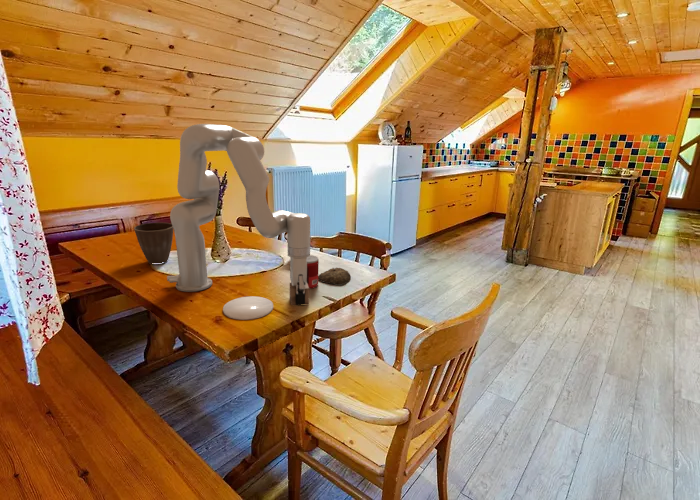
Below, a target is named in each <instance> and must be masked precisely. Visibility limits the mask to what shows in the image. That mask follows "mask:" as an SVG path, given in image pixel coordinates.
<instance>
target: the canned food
mask: <svg viewBox="0 0 700 500" xmlns="http://www.w3.org/2000/svg"><path fill="white" fill-rule="evenodd" d="M319 263H320V262H319V257H318V256H315V255H311V254H310V256H308V257H307V284H308V287H309V290H312V289H315V288H317V287H318V285H319V280H318V276H319V267H320V266H319V265H320V264H319Z"/></svg>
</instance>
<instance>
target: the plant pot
mask: <svg viewBox="0 0 700 500" xmlns="http://www.w3.org/2000/svg"><path fill="white" fill-rule="evenodd" d="M133 230H134V232H135V235H136V238H137V242H138V245H139V247H140V250H141V251H142V253H143V256H144V257H145V259H146V261H147V262H148V264H150V265H153V264H152V263H162V262H166V261H167V260H168V261H169V258H170V254H171V250H172V247H173V246H172V244H173V238H174V229H173V226H172V223H171V222H170V223H169V222H147V223H143V224H142V223H141V224H138V225H136V226H134V228H133ZM168 261H167V262H168ZM167 262H166V263H167Z"/></svg>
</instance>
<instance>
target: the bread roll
mask: <svg viewBox="0 0 700 500" xmlns="http://www.w3.org/2000/svg"><path fill="white" fill-rule="evenodd" d="M351 277H352V276H351V273H350V272H349V271H348V270H346V269H345V268H341V267H335V268H334V267H332V268H330V269H328V270H326V271H323V272H321V273H320V274H318V281H320V282H323V283H327V284H330V285H335V286H342V285H346V283H348V282H349V281H350V279H351Z"/></svg>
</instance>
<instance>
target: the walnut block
mask: <svg viewBox="0 0 700 500" xmlns="http://www.w3.org/2000/svg"><path fill="white" fill-rule="evenodd" d="M297 285H299V283H297ZM298 288H299V287H298ZM304 288H305V304H309V305H310V289H309V287H308V284H306V285H304ZM295 293H296V286H292V284H291V282H289V301H290V305H294V306H297V305H296V303H295Z"/></svg>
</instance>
